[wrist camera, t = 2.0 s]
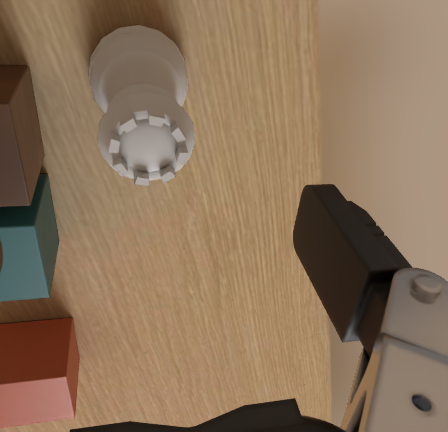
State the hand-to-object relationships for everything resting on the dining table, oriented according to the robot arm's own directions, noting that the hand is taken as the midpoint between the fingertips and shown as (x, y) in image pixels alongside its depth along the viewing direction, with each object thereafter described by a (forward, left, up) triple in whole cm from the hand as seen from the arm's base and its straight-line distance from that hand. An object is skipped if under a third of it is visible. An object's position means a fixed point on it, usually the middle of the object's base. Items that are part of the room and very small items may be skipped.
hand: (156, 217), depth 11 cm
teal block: (+7, -7, -11) cm, 15 cm away
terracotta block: (+18, -7, -11) cm, 23 cm away
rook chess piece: (0, 0, -11) cm, 11 cm away
